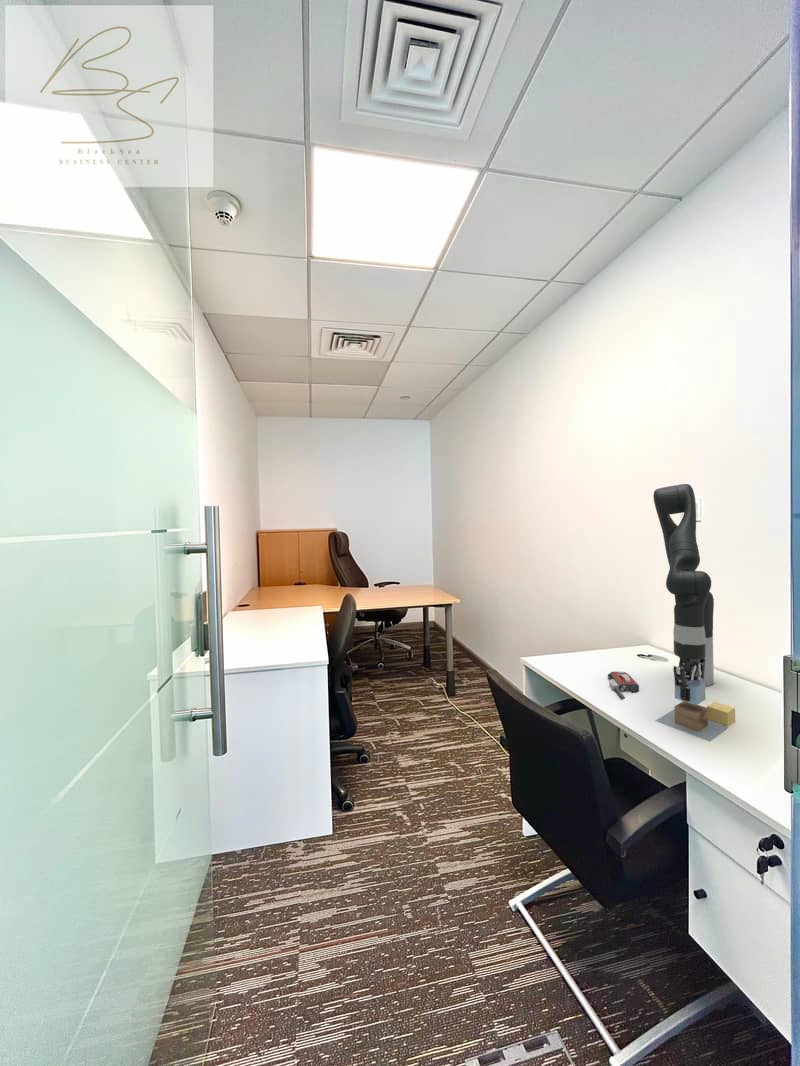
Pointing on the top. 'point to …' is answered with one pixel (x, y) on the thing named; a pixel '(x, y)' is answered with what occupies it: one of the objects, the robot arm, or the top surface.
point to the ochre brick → (721, 713)
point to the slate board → (706, 733)
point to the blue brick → (693, 692)
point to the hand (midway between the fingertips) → (690, 696)
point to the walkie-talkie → (622, 683)
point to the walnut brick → (691, 715)
